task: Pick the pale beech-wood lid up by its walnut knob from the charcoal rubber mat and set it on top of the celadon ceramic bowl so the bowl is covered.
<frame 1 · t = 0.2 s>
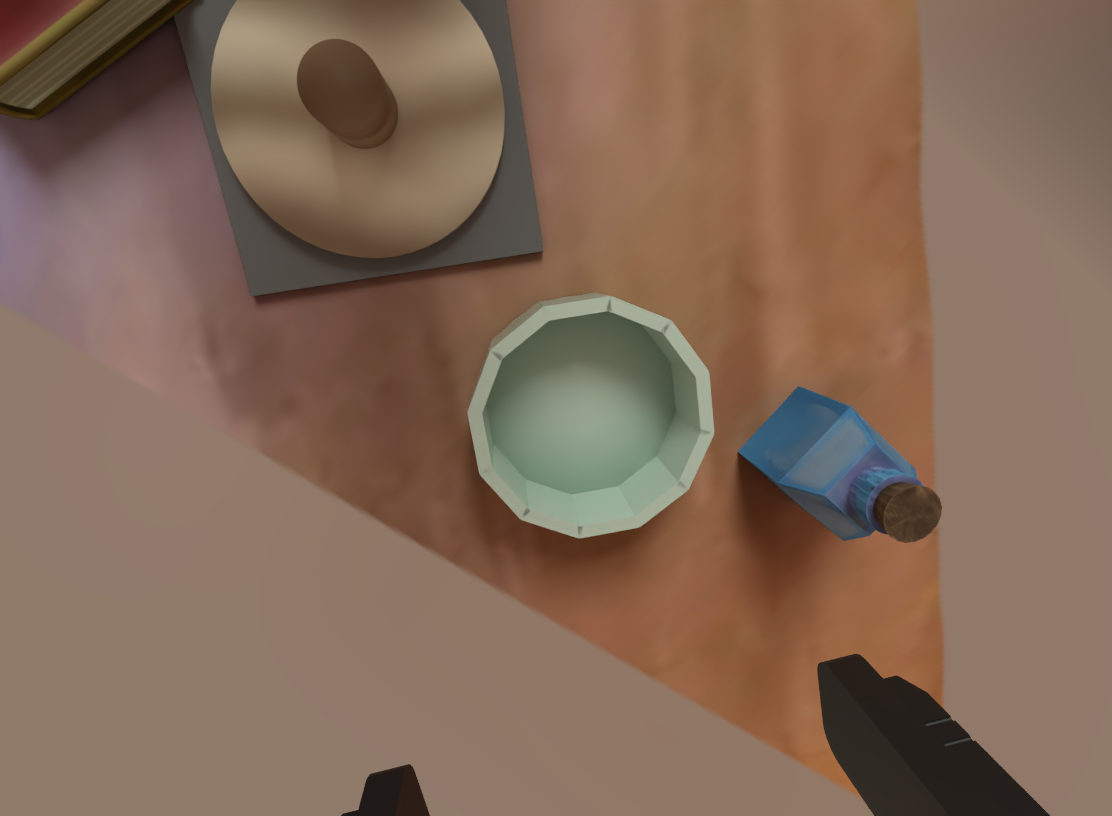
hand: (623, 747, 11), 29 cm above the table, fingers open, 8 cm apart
lid: (365, 115, 33), point 1 cm above the table, touching mat
mat: (368, 117, 34), on the table
perfume bottle: (795, 444, 41), on the table
bowl: (580, 400, 39), on the table
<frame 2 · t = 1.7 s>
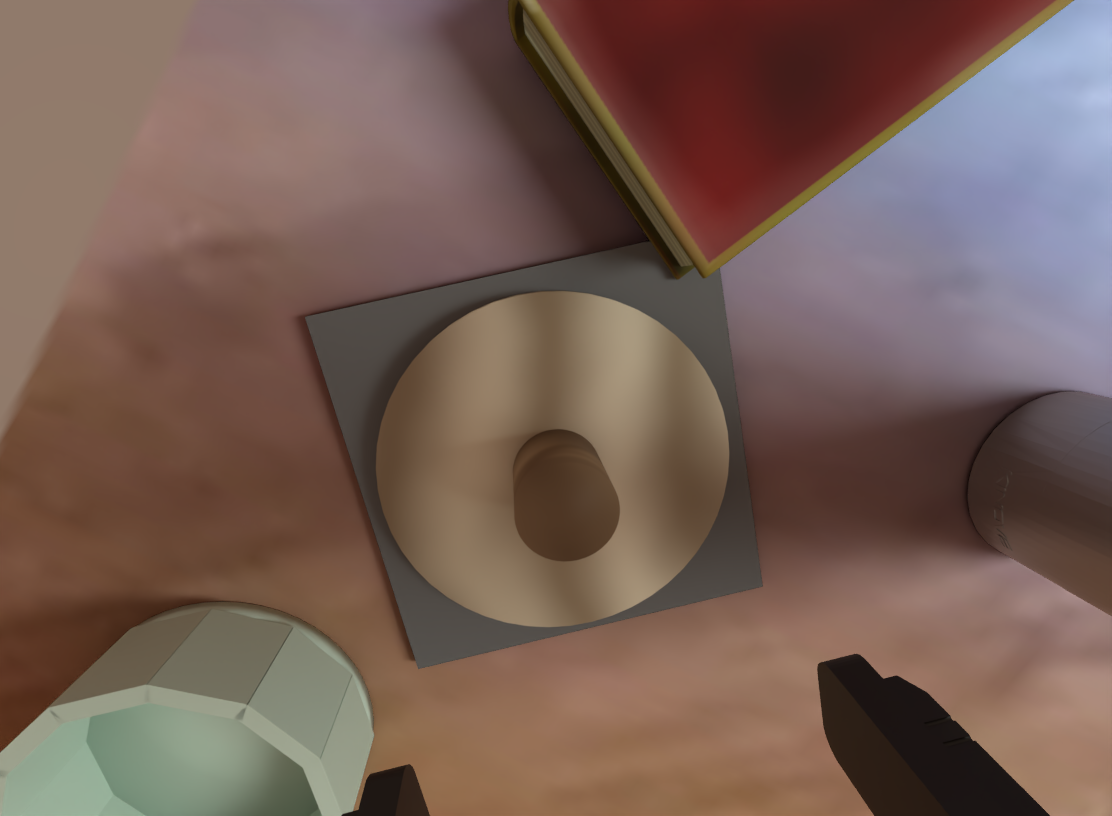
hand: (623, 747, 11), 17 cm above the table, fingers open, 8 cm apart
hardcover book: (801, 2, 23), on the table, touching mat
lid: (555, 464, 27), point 1 cm above the table, touching mat
mat: (554, 460, 27), on the table
bowl: (234, 723, 29), on the table
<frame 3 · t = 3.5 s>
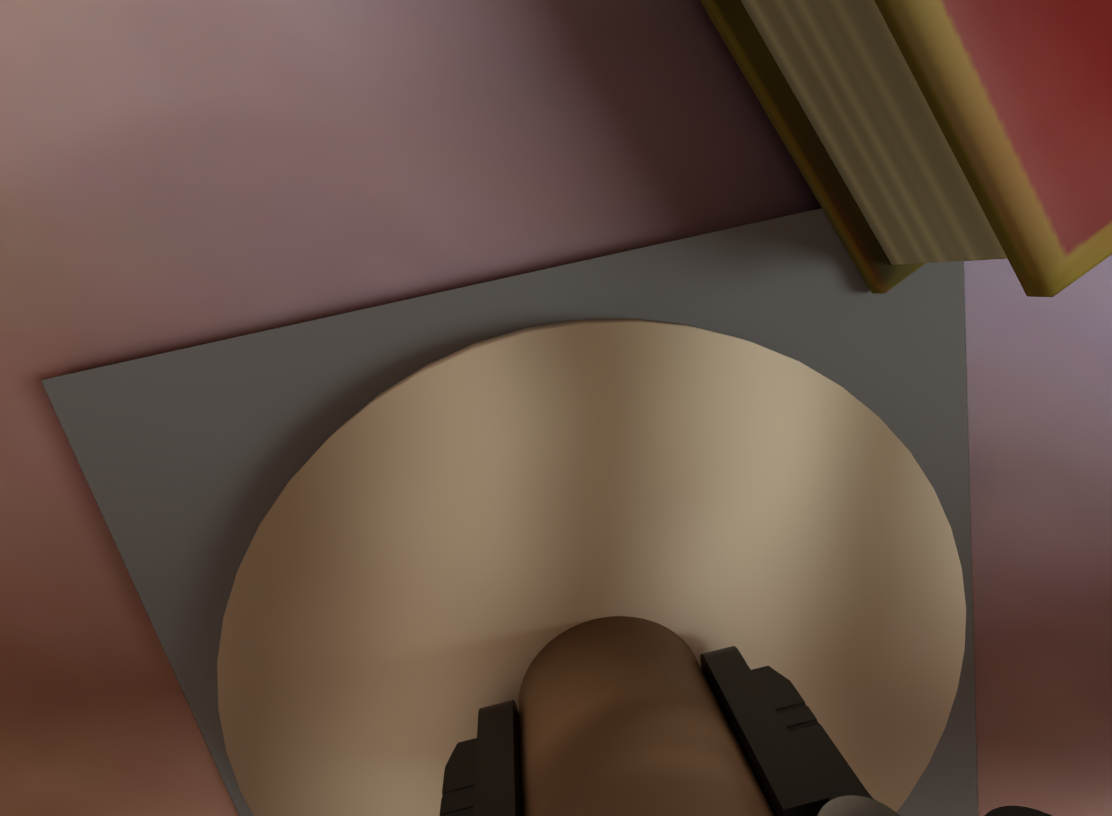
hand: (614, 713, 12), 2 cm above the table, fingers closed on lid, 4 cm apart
lid: (604, 666, 13), point 1 cm above the table, touching gripper, mat
mat: (598, 649, 14), on the table
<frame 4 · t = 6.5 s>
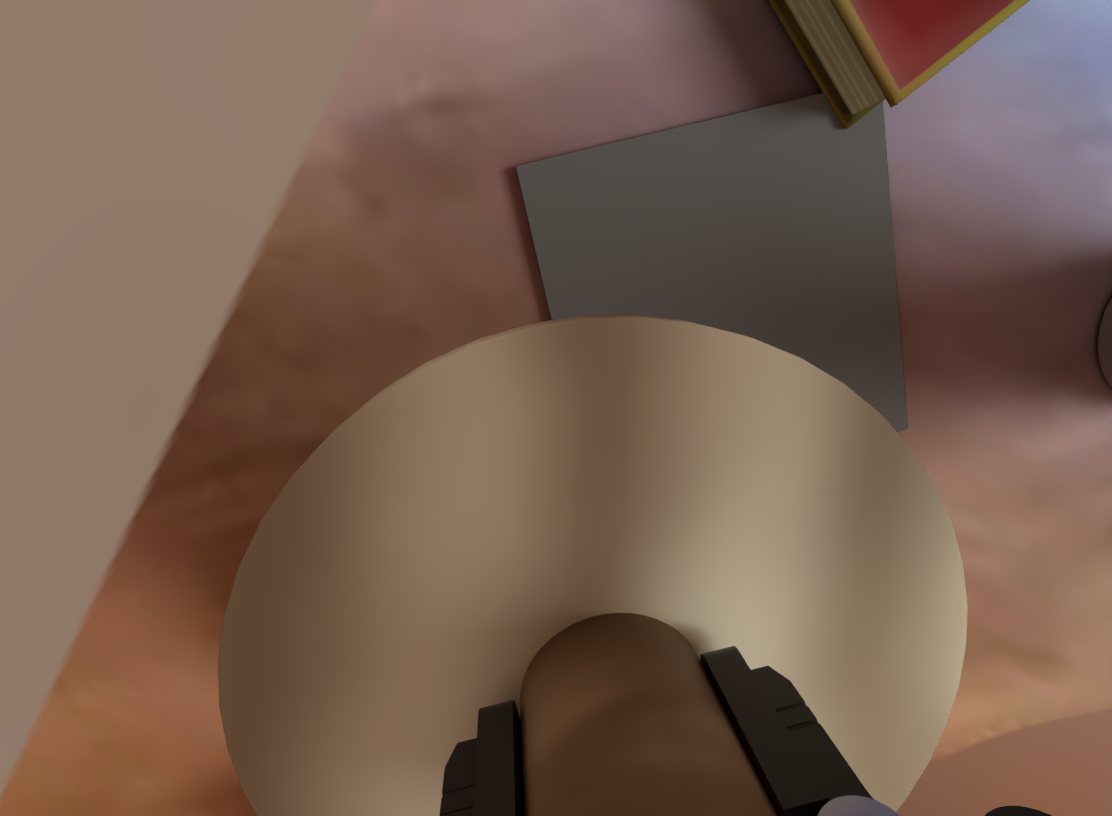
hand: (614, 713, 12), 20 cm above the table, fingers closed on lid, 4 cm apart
lid: (605, 664, 13), point 19 cm above the table, touching gripper
mat: (723, 306, 30), on the table
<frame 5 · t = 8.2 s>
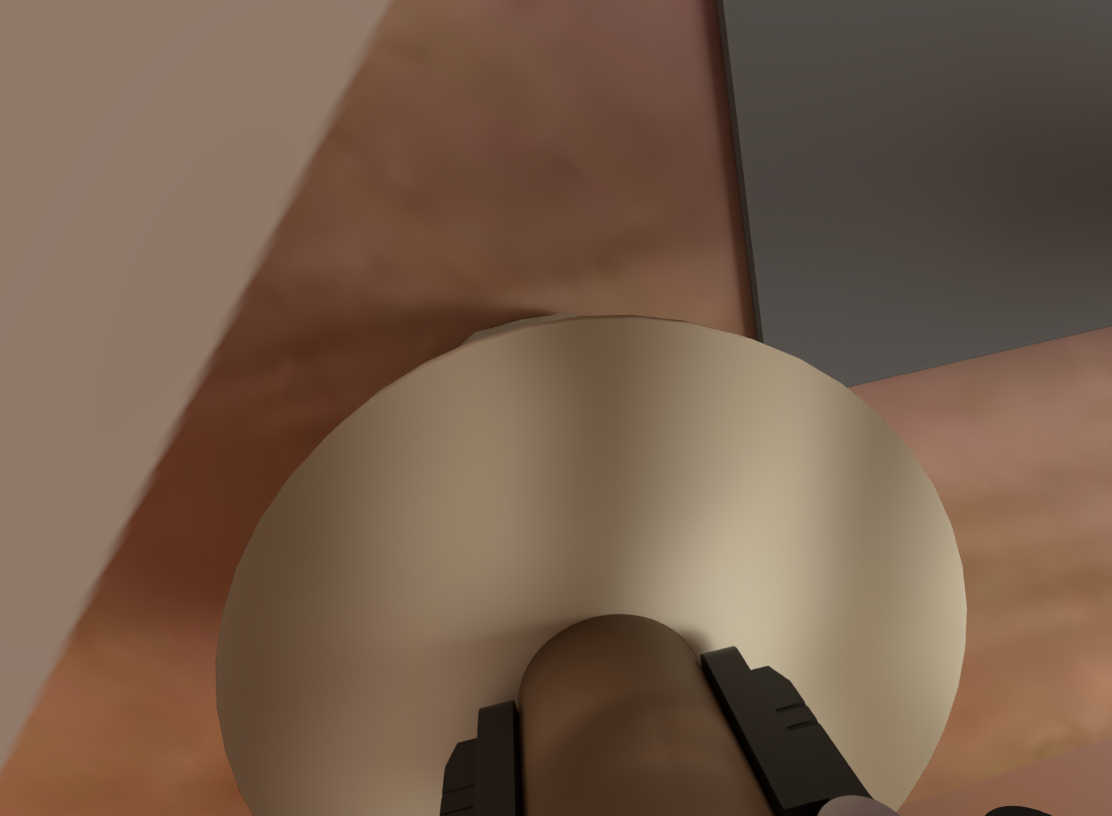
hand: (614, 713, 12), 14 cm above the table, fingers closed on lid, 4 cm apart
lid: (603, 665, 13), point 13 cm above the table, touching gripper
mat: (947, 149, 24), on the table
bowl: (554, 472, 26), on the table
when the fingers open (9 cm above the table, at t = 9.5 s): lid drops 1 cm, resting on bowl.
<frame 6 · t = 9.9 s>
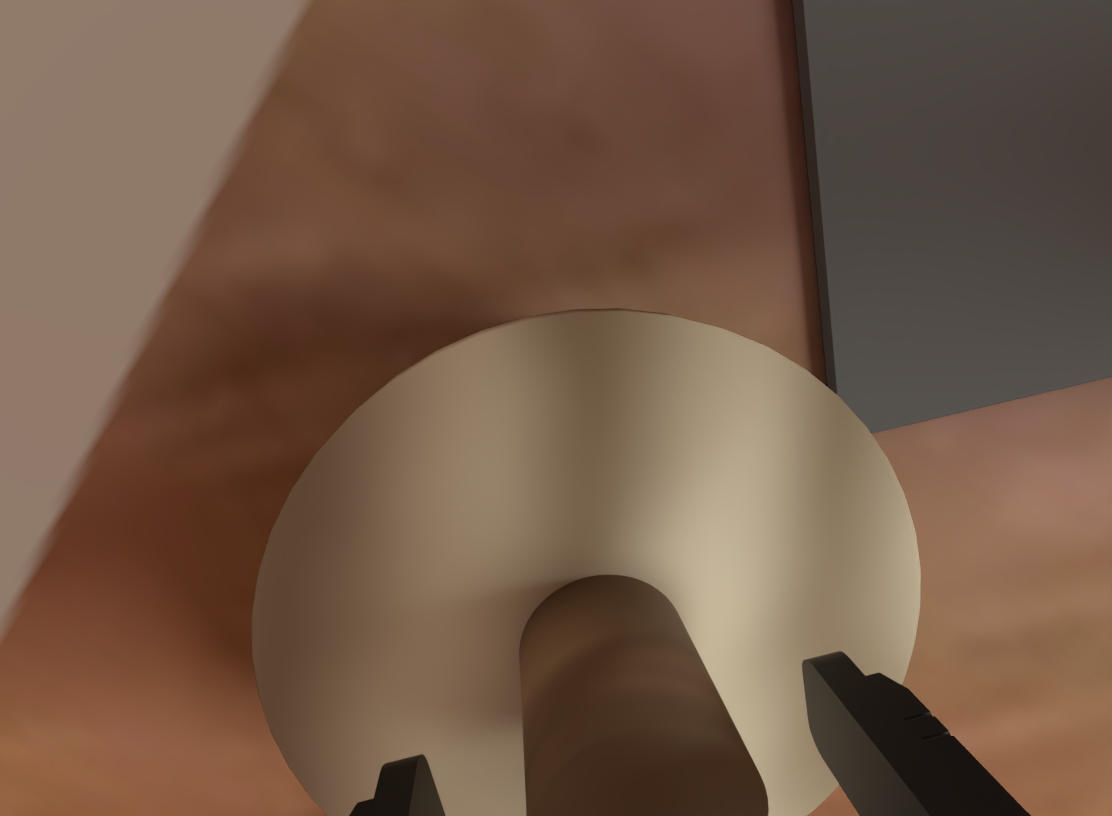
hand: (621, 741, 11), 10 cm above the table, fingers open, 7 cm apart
lid: (596, 624, 15), point 6 cm above the table, touching bowl
mat: (1072, 115, 19), on the table
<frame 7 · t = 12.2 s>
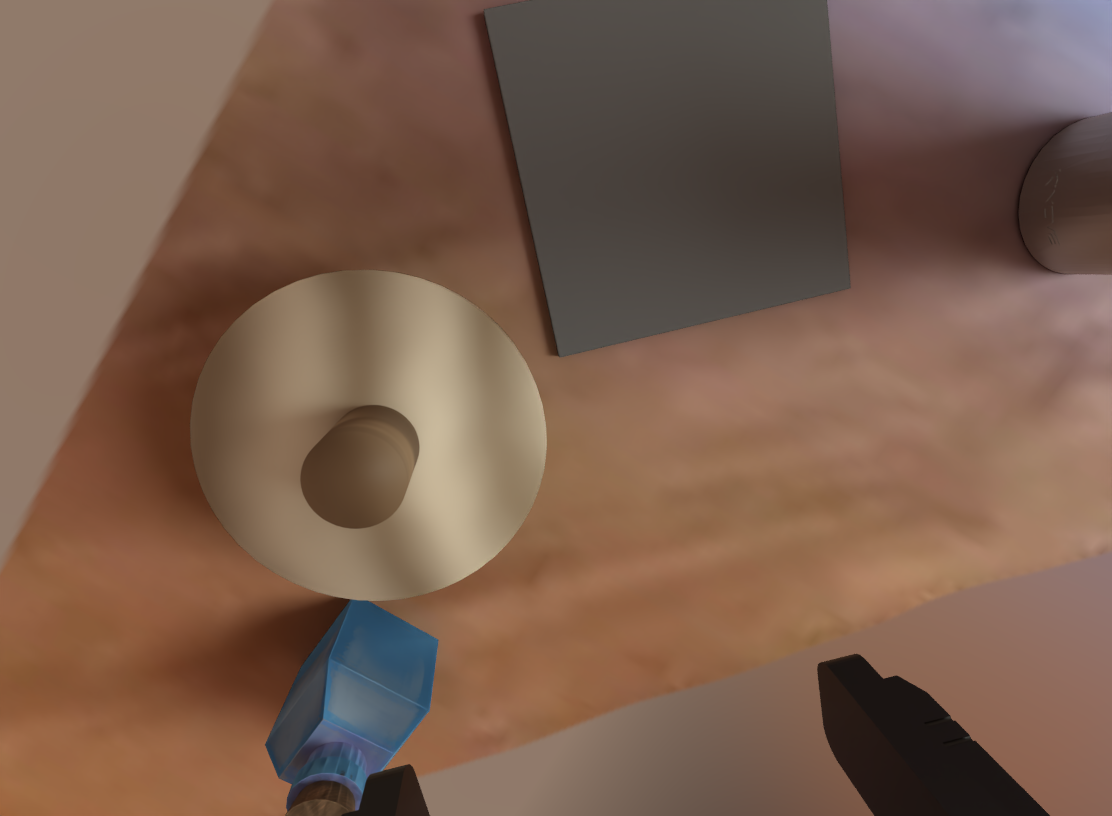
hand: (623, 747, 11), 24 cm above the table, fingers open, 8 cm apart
lid: (379, 440, 28), point 6 cm above the table, touching bowl
mat: (680, 163, 32), on the table
perfume bottle: (370, 651, 37), on the table
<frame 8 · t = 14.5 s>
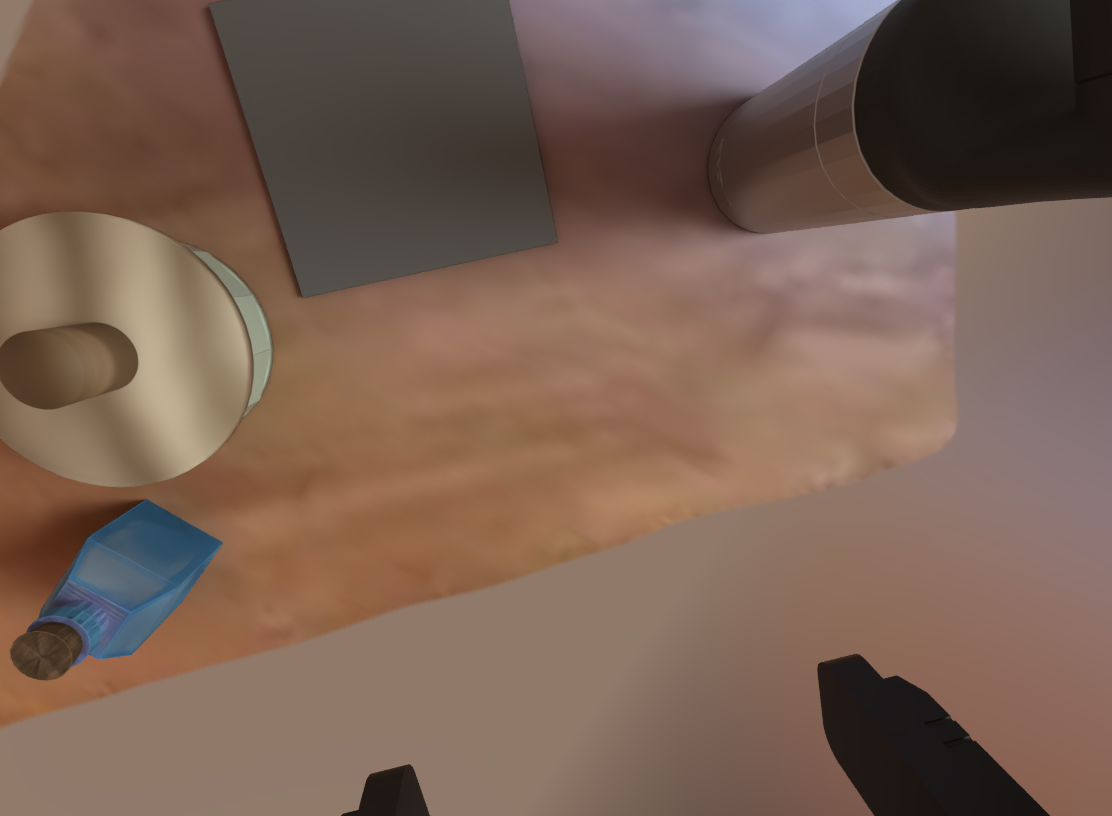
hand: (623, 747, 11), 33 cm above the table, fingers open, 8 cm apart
lid: (112, 354, 34), point 6 cm above the table, touching bowl
mat: (396, 133, 38), on the table
perfume bottle: (165, 550, 44), on the table
bowl: (168, 342, 40), on the table
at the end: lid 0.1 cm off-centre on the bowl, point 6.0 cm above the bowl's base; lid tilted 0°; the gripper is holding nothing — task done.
